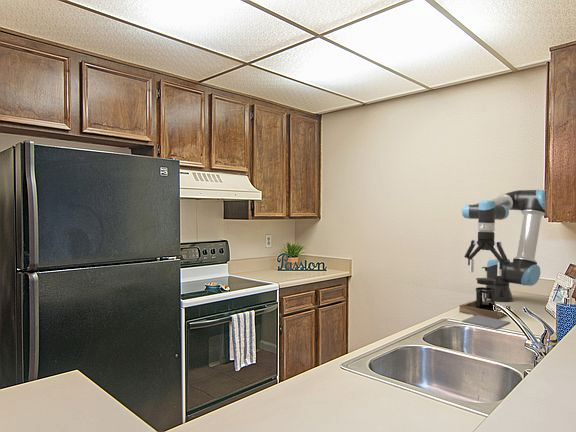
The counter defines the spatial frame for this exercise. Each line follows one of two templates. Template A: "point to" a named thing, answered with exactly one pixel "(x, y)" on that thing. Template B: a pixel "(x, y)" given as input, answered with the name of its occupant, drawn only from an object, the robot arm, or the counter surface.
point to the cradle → (480, 310)
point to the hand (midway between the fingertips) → (485, 273)
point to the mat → (486, 322)
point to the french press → (480, 290)
